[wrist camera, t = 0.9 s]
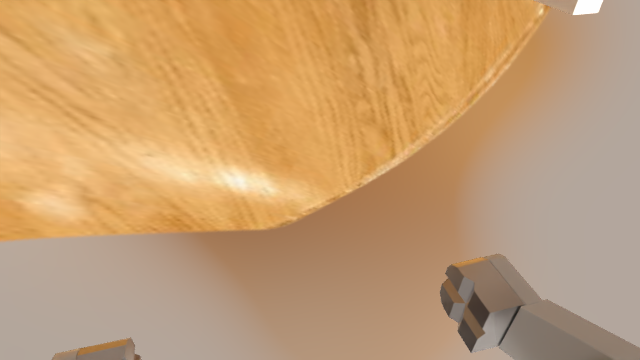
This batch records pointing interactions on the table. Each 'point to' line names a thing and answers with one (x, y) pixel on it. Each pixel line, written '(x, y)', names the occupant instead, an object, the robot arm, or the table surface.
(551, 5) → the white board
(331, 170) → the table surface
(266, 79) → the table surface
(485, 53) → the table surface
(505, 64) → the table surface
